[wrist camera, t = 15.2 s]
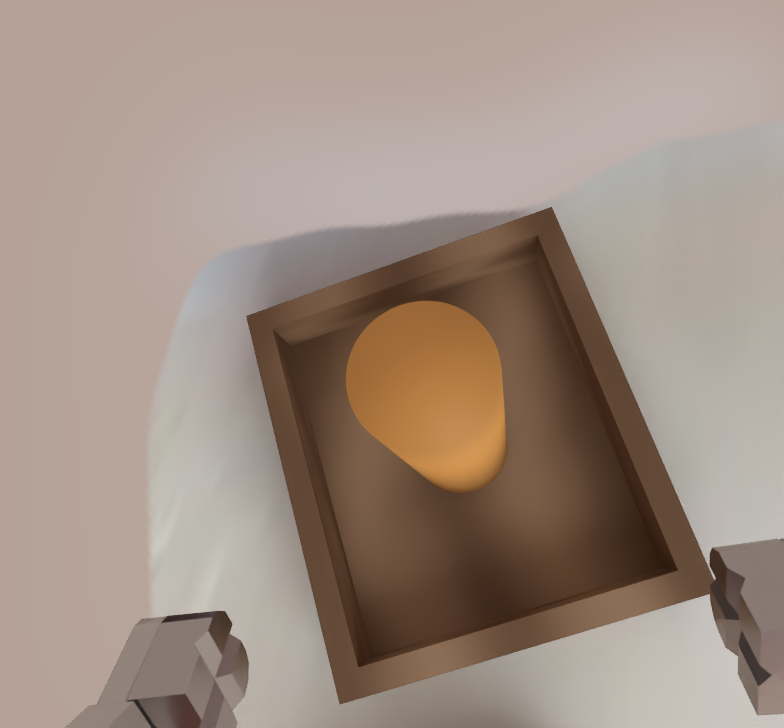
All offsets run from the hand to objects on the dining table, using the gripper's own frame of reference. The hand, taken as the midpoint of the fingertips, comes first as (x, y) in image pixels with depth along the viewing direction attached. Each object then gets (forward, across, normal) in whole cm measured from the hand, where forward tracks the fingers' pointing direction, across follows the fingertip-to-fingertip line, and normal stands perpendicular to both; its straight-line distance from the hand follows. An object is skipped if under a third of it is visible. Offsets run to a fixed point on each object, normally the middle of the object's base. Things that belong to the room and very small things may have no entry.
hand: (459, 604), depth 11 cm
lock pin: (+15, +1, +8) cm, 17 cm away
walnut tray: (+16, +1, +9) cm, 18 cm away
